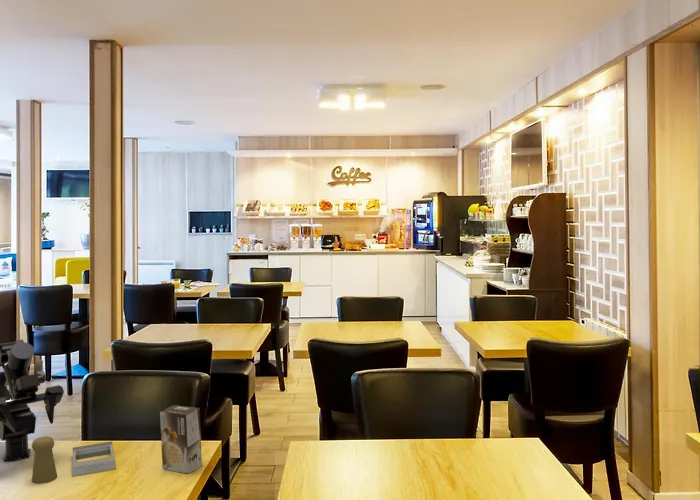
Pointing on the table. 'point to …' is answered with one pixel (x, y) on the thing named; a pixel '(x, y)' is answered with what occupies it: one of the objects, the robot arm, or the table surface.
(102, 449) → the silver metal frame
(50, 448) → the cork
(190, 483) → the table surface
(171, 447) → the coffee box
